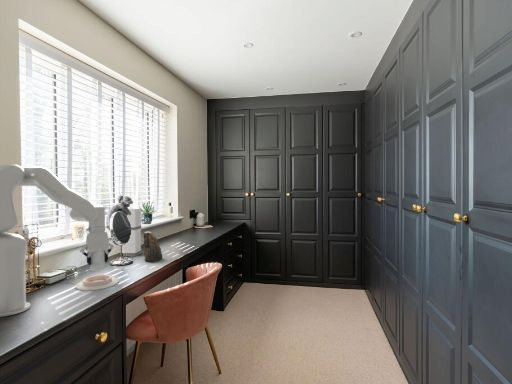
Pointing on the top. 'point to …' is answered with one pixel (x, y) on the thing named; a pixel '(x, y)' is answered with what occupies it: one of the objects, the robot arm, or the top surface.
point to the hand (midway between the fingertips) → (97, 262)
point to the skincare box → (98, 260)
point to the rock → (151, 248)
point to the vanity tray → (80, 287)
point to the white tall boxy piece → (134, 234)
